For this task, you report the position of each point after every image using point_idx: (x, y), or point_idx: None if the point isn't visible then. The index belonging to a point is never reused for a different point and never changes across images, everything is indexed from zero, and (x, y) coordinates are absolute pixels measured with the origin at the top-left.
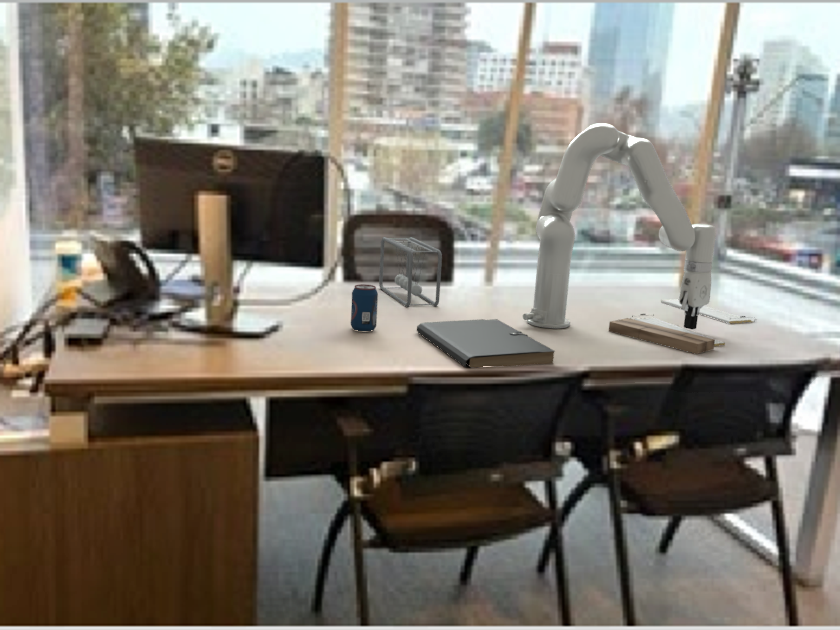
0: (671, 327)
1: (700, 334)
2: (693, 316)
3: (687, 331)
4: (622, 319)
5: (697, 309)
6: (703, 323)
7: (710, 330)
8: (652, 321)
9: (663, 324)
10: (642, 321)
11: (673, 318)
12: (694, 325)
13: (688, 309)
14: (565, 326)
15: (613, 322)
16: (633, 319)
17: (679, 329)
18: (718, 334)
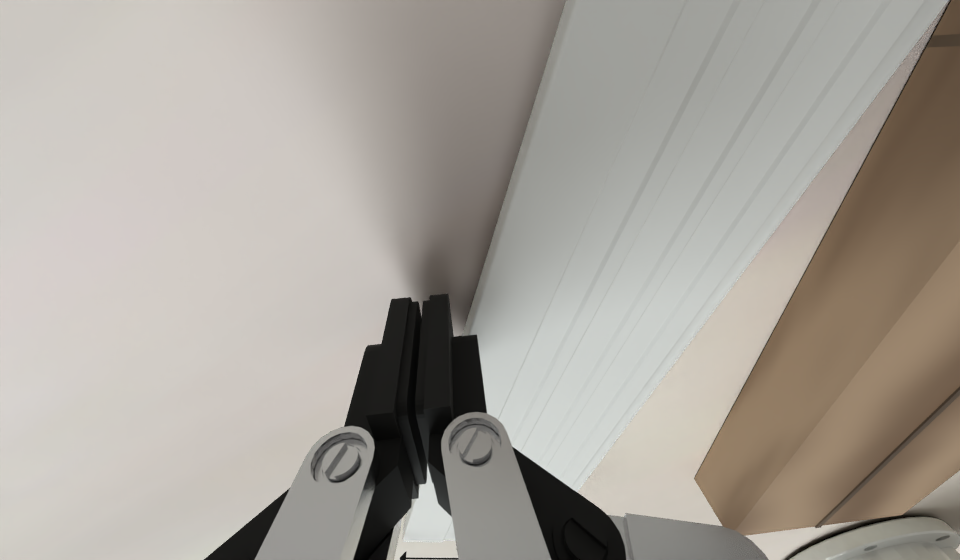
0: (540, 398)
1: (548, 136)
2: (452, 417)
3: (548, 280)
4: (792, 526)
5: (348, 540)
6: (60, 419)
7: (159, 258)
8: None
9: None
10: None
11: (238, 523)
12: (434, 316)
13: (619, 550)
14: (908, 523)
15: (915, 503)
16: (746, 517)
17: (533, 349)
18: (178, 93)
